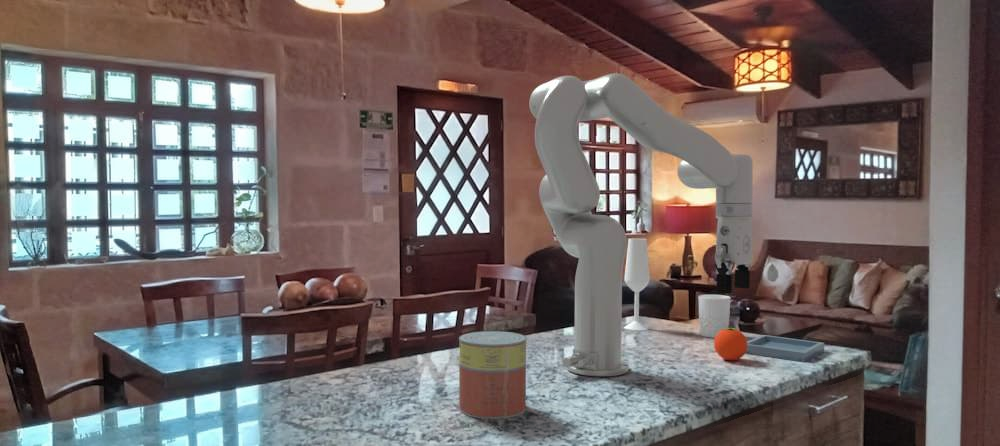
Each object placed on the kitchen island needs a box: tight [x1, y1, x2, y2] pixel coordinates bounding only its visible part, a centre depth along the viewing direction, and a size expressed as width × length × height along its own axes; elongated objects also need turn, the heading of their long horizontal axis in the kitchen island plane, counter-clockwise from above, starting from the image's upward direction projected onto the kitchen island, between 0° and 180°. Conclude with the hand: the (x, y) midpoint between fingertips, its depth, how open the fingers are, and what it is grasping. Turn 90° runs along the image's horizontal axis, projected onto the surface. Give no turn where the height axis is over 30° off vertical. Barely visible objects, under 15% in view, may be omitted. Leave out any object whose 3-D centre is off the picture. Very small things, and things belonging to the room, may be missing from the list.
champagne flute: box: [623, 237, 651, 331], centre depth 192 cm, size 7×7×24 cm
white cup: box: [697, 294, 732, 339], centre depth 182 cm, size 8×8×10 cm
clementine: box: [713, 327, 748, 362], centre depth 156 cm, size 8×7×7 cm
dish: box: [745, 334, 825, 363], centre depth 163 cm, size 14×14×2 cm
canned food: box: [458, 330, 528, 420], centre depth 119 cm, size 11×11×12 cm
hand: (733, 290), depth 155 cm, fingers open, 9 cm apart
